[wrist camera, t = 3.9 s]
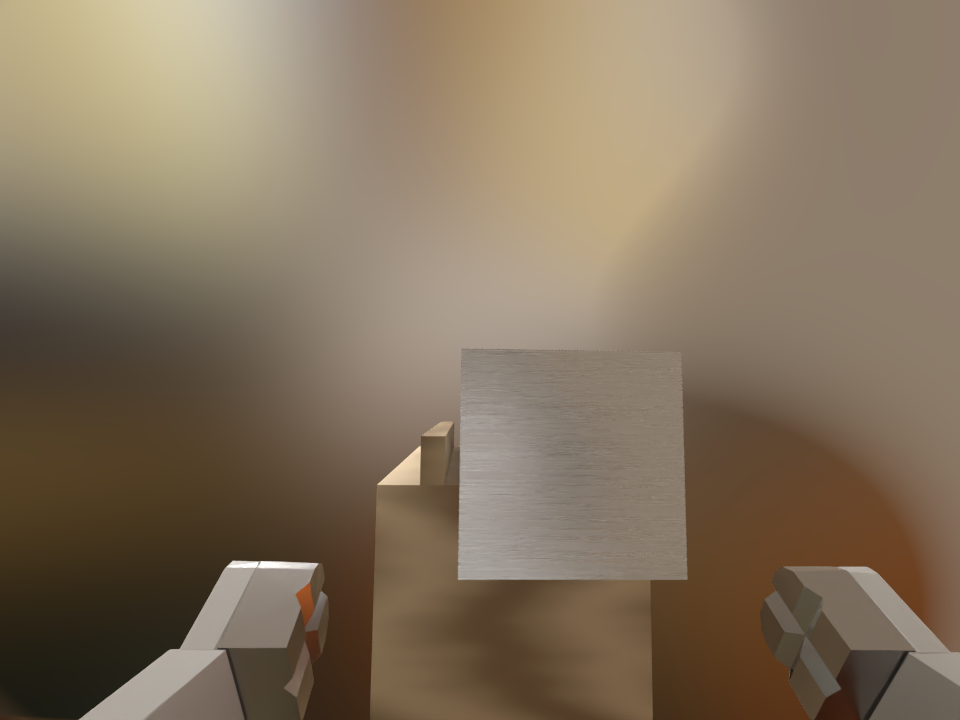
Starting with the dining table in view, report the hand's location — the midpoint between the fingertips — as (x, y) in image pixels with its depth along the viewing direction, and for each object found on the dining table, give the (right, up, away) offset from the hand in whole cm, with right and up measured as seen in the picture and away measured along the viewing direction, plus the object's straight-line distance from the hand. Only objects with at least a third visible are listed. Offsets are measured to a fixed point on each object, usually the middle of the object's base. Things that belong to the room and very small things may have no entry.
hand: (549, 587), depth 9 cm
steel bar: (0, 0, +10) cm, 11 cm away
